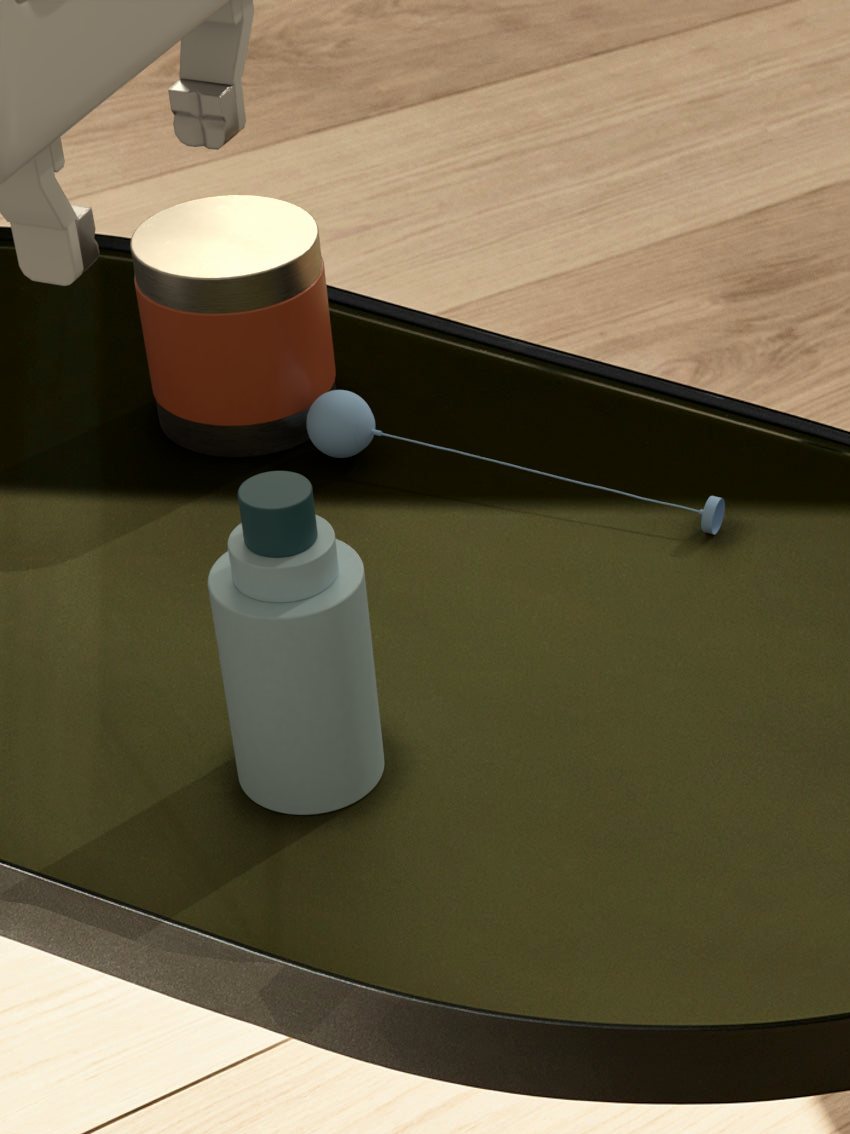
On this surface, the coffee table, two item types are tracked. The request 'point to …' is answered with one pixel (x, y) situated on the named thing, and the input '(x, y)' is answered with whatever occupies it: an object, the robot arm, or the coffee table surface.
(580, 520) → the coffee table surface
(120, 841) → the coffee table surface
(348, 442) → the ball ended pin
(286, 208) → the tin
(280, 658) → the bottle
